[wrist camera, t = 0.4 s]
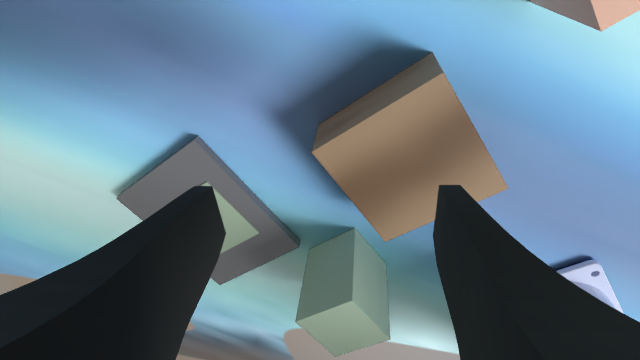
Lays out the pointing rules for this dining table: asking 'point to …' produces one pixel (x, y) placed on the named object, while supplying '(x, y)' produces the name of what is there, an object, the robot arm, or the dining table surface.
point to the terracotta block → (592, 10)
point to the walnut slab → (405, 150)
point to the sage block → (344, 295)
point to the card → (233, 201)
